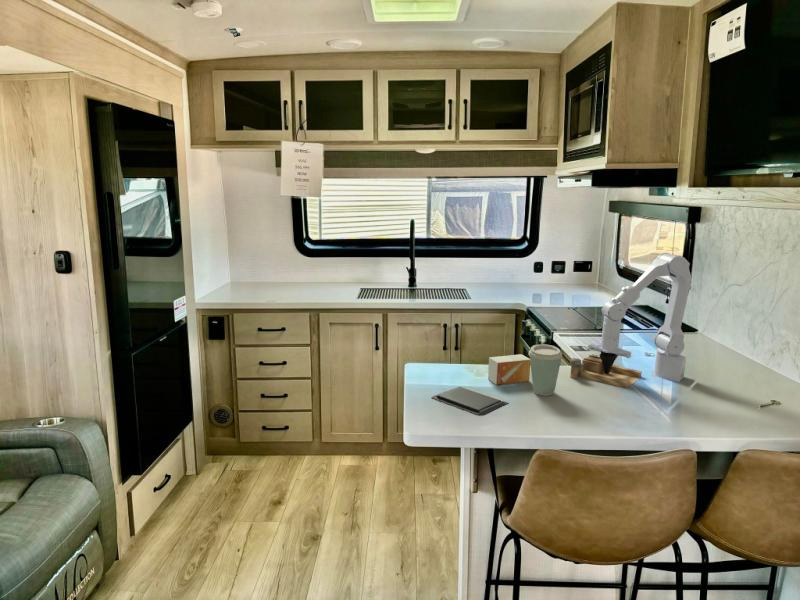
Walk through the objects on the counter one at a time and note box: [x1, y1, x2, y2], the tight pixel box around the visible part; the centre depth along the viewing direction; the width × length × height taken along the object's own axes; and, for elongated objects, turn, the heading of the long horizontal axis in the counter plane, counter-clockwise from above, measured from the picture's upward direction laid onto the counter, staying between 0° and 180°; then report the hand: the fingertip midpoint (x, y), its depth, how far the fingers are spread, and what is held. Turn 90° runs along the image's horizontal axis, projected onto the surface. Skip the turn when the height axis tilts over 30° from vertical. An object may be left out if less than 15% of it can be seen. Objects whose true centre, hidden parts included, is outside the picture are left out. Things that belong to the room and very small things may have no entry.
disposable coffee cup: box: [528, 343, 563, 397], centre depth 186 cm, size 11×11×15 cm
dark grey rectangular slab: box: [431, 386, 510, 417], centre depth 179 cm, size 20×2×15 cm
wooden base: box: [569, 354, 642, 389], centre depth 201 cm, size 19×19×7 cm
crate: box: [581, 354, 604, 374], centre depth 205 cm, size 6×8×5 cm
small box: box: [487, 353, 531, 386], centre depth 197 cm, size 8×6×13 cm
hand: (607, 373), depth 203 cm, fingers closed
